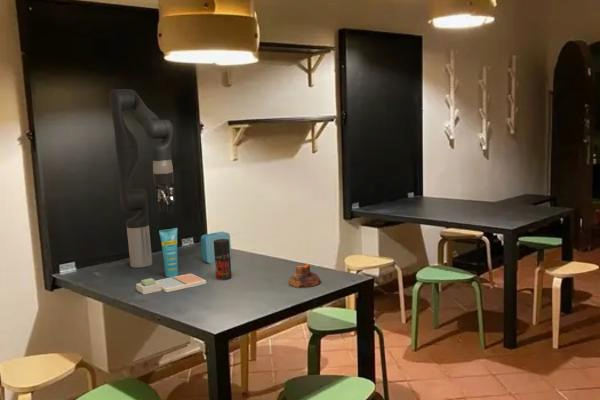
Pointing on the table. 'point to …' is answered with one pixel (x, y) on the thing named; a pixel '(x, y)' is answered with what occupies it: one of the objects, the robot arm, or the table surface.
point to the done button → (148, 282)
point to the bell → (304, 277)
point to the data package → (212, 245)
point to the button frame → (148, 288)
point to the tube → (169, 251)
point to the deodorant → (222, 259)
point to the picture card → (180, 282)
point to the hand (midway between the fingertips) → (166, 212)
